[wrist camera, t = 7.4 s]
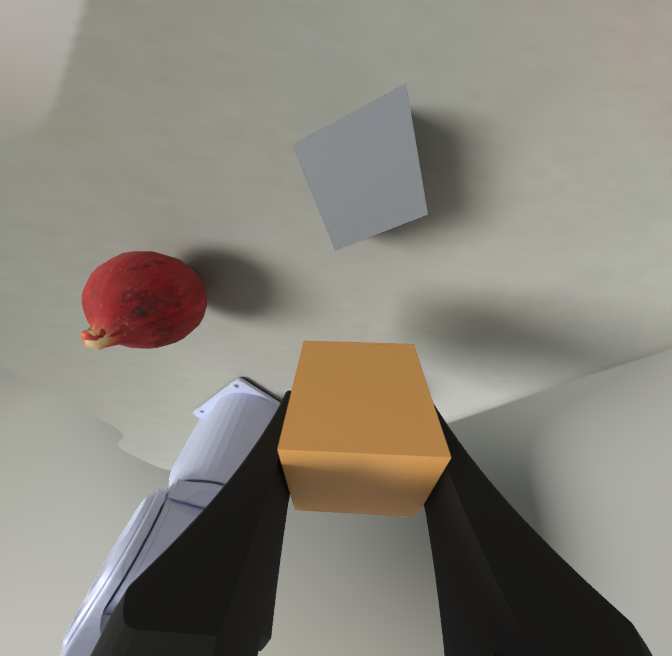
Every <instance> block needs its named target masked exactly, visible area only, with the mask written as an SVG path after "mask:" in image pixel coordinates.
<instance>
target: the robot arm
mask: <svg viewBox="0 0 672 656" xmlns="http://www.w3.org/2000/svg"><path fill="white" fill-rule="evenodd" d="M290 395H291V391H287V392H286V393H285V395H284V397H283V399H282V401H281V403H280V402H279V401H277V400H275V399H274V398H272V397H271V396H269V395H268V394H266V393H264V392H263V391H261V390H260V389H258V388H257V387H255V386H253V385H252V384H250V383H249V382H247V381H246V380H244V379H242V378H237V379H236V380H234V381H233V382H232V383H230V384H229V385H228V386H226V387H225V388H224V389H222V390H221V391H220V392H218V393H217V394H216V395H215V396H213V397H212V398H211V399H209V400H208V401H207V402H205V403H204V404H203V405H201V406H200V407H199V408H197V409H196V410H195V411H194V413H193V414H194V415H195V416H196V417H198V418H200V420H199V421H198V423H197V425H196V427H195V428H194V430H193V432H192V434H191V436H190V437H189V439H188V441H187V443H186V444H185V446H184V448H183V450H182V452H181V453H180V455H179V457H178V459H177V460H176V462H175V464H174V466H173V468H172V470H171V473H170V478H169V488H168V489H167V490H164V489H158V490H156V492H154V493H151V494H150V495H148V496H146V497H145V499H144V500H143V501H142V503H141V504H140V506H139V507H138V509H137V510H136V512H135V513H134V515H133V516H132V518H131V519H130V521H129V523H128V524H127V526H126V527H125V529H124V530H123V532H122V534H121V535H120V537H119V539H118V540H117V542H116V544H115V545H114V547H113V549H112V550H111V552H110V554H109V555H108V557H107V559H106V561H105V562H104V564H103V566H102V567H101V569H100V571H99V573H98V574H97V576H96V578H95V580H94V582H93V584H92V585H91V587H90V589H89V591H88V593H87V595H86V597H85V599H84V601H83V602H82V604H81V606H80V607H79V609H78V611H77V613H76V615H75V616H74V618H73V620H72V622H71V624H70V626H69V628H68V630H67V632H66V634H65V636H64V639H63V642H62V644H63V649H62V651H61V653H60V656H257V655H258V651H261V650H262V649H263V648H264V647H265V646H266V644H267V643H268V641H269V640H270V639H271V634H272V625H273V615H274V607H275V598H276V589H277V581H278V574H279V566H280V558H281V551H282V544H283V536H284V529H285V522H286V515H287V508H288V502H289V497H290V492H289V488H288V485H287V481H286V478H285V474H284V471H283V467H282V464H281V460H280V457H279V453H278V450H277V449H278V445H279V441H280V436H281V432H282V428H283V424H284V420H285V416H286V412H287V408H288V404H289V400H290ZM433 404H434V403H433ZM434 407H435V410H436V413H437V416H438V419H439V422H440V425H441V428H442V431H443V434H444V437H445V440H446V443H447V446H448V449H449V452H450V455H451V459H450V461H449V462H448V464H447V466H446V467H445V469H444V471H443V473H442V474H441V476H440V478H439V479H438V481H437V483H436V484H435V486H434V488H433V490H432V491H431V493H430V495H429V496H428V498H427V500H426V501H425V503H424V507H425V512H426V517H427V524H428V530H429V536H430V543H431V549H432V556H433V563H434V569H435V577H436V585H437V593H438V600H439V608H440V617H441V626H442V634H443V644H444V654H445V656H652V654H651V652H650V650H649V649H648V647H647V645H646V644H645V642H644V641H643V639H642V638H641V636H640V635H639V633H638V632H637V630H636V629H635V627H634V625H633V624H632V623H631V622H630V621H629V620H628V619H627V618H626V617H625V616H623V615H622V614H621V613H620V612H619V611H618V610H617V609H616V608H615V607H614V606H613V605H611V604H610V603H609V602H608V601H607V600H606V599H605V598H604V597H603V596H601V595H600V594H599V593H598V592H597V591H596V590H595V589H594V588H593V587H592V586H591V585H590V584H588V583H587V582H586V581H585V580H584V579H583V578H582V577H581V576H580V575H579V574H578V573H577V572H576V571H575V570H574V569H573V568H572V567H571V566H570V565H569V564H568V563H567V562H565V560H563V559H562V558H561V557H560V556H559V555H558V554H557V553H556V552H555V551H554V550H553V549H552V548H551V547H550V546H549V545H548V544H547V543H546V542H545V541H544V540H543V539H542V538H541V536H539V535H538V533H537V532H536V531H535V530H534V529H533V528H532V527H531V526H530V525H529V524H528V523H527V522H526V521H525V520H524V519H523V518H522V517H521V516H520V515H519V514H518V513H517V511H516V510H515V509H514V508H513V507H512V506H511V505H510V504H509V503H508V502H507V501H506V499H505V498H504V497H503V496H502V495H501V494H500V493H499V491H498V490H497V489H496V488H495V487H494V486H493V484H492V483H491V482H490V481H489V480H488V478H487V477H486V476H485V475H484V473H483V472H482V471H481V470H480V468H479V467H478V466H477V465H476V463H475V462H474V461H473V460H472V458H471V457H470V456H469V454H468V453H467V452H466V450H465V449H464V448H463V446H462V445H461V443H460V442H459V441H458V439H457V438H456V436H455V435H454V434H453V432H452V431H451V429H450V428H449V426H448V425H447V423H446V422H445V420H444V419H443V417H442V416H441V414H440V413H439V411H438V410H437V408H436V406H435V405H434Z"/></svg>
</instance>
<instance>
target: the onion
mask: <svg viewBox="0 0 672 656" xmlns="http://www.w3.org/2000/svg"><path fill="white" fill-rule="evenodd" d="M82 306H83V310H84V313H85V316H86V318H87V321H88V323H89V324H90V326H91V327H90V328H89V329H88V330H84V331H83V332H81V333H80V334H81V338H82V342H83V343H84V345H85V347H91V348H95V349H98V350H101V349H103V348H105V347H110V346H114V345H122V346H126V347H130V348H145V349H150V348H158V347H162V346H165V345H169V344H172V343H176V342H178V341H180V340H181V339H183V338H185V337H186V336H187V335H188V334H189V333H191V332H192V331H193V330H194V329H195V328H196V327H197V326H198V325H199V324H200V323H201V321H202V319H203V317H204V314H205V310H206V306H207V296H206V291H205V287H204V283H203V282H202V281H201V279H200V278H199V276H198V275H197V274H196V272H195V271H194V270H193V269H192V268H190V267H189V266H188V265H186V264H185V263H183V262H182V261H180V260H179V259H176V258H173V257H170V256H167V255H163V254H160V253H156V252H151V251H134V252H127V253H122V254H120V255H118V256H116V257H114V258H112V259H110V260H108V261H107V262H105V263H103V264H102V265H100V266H98V267H97V268H96V269H95V270H94V272H93V273H92V274H91V275H90V277H89V279H88V281H87V283H86V285H85V287H84V290H83V293H82Z"/></svg>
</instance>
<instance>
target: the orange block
mask: <svg viewBox="0 0 672 656" xmlns="http://www.w3.org/2000/svg"><path fill="white" fill-rule="evenodd" d="M277 450H278V453H279V457H280V460H281V464H282V467H283V471H284V474H285V478H286V481H287V485H288V488H289V492H290V495H291V498H292V502H293V505H294V509H295V510H303V511H320V512H338V513H356V514H373V515H374V514H375V515H392V516H411V517H416V516H417V515H418V513H419V512H420V510H421V508H422V507H423V505H424V503H425V501H426V500H427V498H428V496H429V495H430V493H431V491H432V490H433V488H434V486H435V484H436V483H437V481H438V479H439V478H440V476H441V474H442V473H443V471H444V469H445V467H446V466H447V464H448V462H449V461H450V459H451V455H450V452H449V449H448V446H447V443H446V440H445V437H444V434H443V431H442V428H441V425H440V422H439V419H438V416H437V413H436V410H435V407H434V404H433V401H432V398H431V395H430V392H429V389H428V386H427V383H426V380H425V377H424V374H423V371H422V368H421V365H420V362H419V359H418V356H417V353H416V350H415V347H414V344H395V343H361V342H327V341H304V342H303V346H302V350H301V354H300V359H299V363H298V367H297V371H296V375H295V379H294V383H293V387H292V391H291V395H290V400H289V404H288V408H287V412H286V416H285V420H284V424H283V428H282V432H281V436H280V441H279V445H278V449H277Z"/></svg>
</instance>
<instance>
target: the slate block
mask: <svg viewBox="0 0 672 656" xmlns="http://www.w3.org/2000/svg"><path fill="white" fill-rule="evenodd" d="M293 148H294V150H295V153H296V155H297V158H298V160H299V163H300V165H301V167H302V170H303V172H304V175H305V177H306V180H307V182H308V185H309V187H310V190H311V192H312V195H313V197H314V200H315V202H316V205H317V207H318V209H319V212H320V214H321V217H322V219H323V222H324V224H325V227H326V229H327V232H328V234H329V237H330V239H331V242H332V244H333V247H334V249H335V250H338V249H341V248H343V247H346V246H348V245H351V244H353V243H356V242H359V241H361V240H364V239H366V238H369V237H371V236H374V235H377V234H379V233H382V232H384V231H387V230H389V229H392V228H395V227H397V226H400V225H402V224H405V223H407V222H410V221H413V220H415V219H418V218H420V217H423V216H425V215H428V212H427V206H426V200H425V194H424V188H423V182H422V176H421V170H420V164H419V158H418V152H417V146H416V140H415V134H414V128H413V122H412V116H411V110H410V104H409V98H408V92H407V86H406V84H404V85H403V86H401V87H399V88H397V89H395V90H393V91H391V92H390V93H388V94H386V95H384V96H382V97H380V98H378V99H377V100H375V101H373V102H371V103H369V104H367V105H365V106H364V107H362V108H360V109H358V110H356V111H354V112H352V113H351V114H349V115H347V116H345V117H343V118H341V119H339V120H338V121H336V122H334V123H332V124H330V125H328V126H326V127H325V128H323V129H321V130H319V131H317V132H315V133H313V134H312V135H310V136H308V137H306V138H304V139H302V140H300V141H299V142H297V143H295V144H293Z"/></svg>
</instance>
